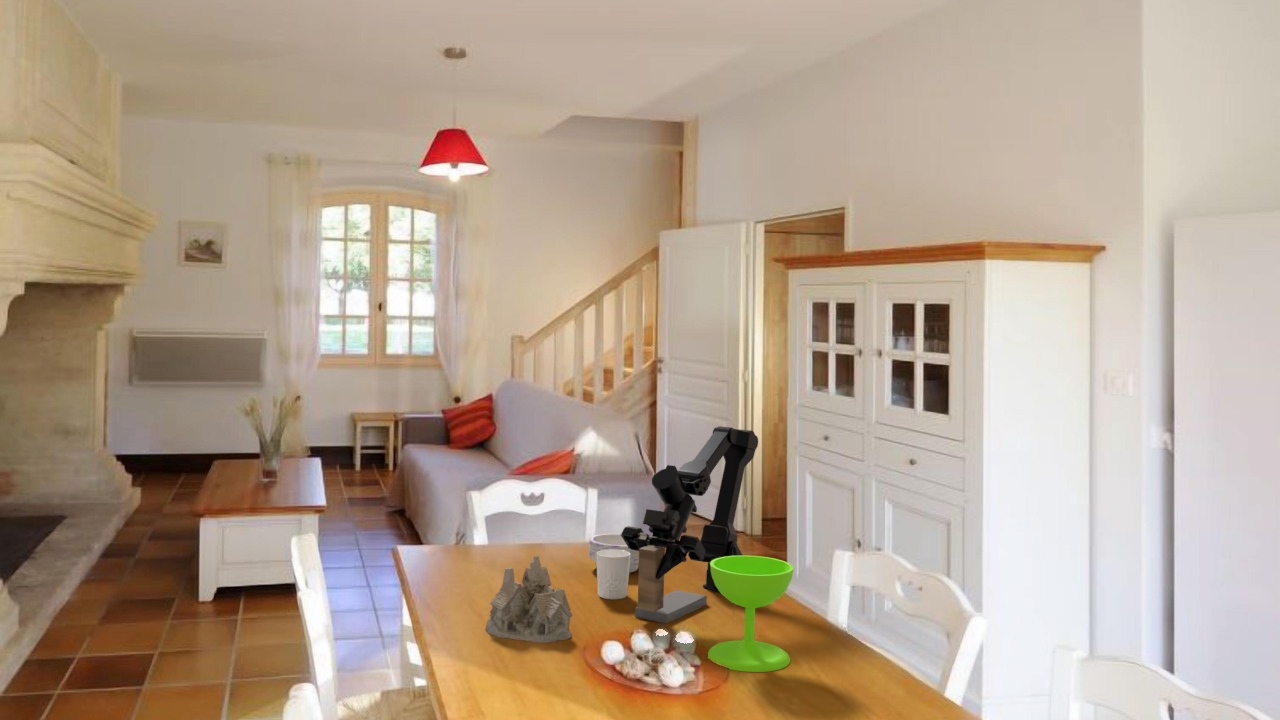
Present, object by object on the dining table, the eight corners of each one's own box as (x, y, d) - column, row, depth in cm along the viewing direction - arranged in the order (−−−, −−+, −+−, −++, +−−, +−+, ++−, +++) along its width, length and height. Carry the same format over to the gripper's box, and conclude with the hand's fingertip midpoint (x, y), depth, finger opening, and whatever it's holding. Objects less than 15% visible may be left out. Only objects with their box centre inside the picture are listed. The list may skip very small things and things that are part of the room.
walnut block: (647, 604, 222) (648, 545, 221) (663, 607, 220) (664, 547, 219) (637, 608, 219) (639, 548, 218) (653, 611, 217) (655, 551, 216)
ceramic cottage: (479, 623, 213) (485, 553, 212) (554, 619, 220) (560, 551, 219) (500, 651, 199) (506, 576, 198) (579, 646, 206) (585, 573, 205)
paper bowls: (658, 568, 265) (659, 538, 265) (626, 580, 252) (627, 548, 252) (609, 559, 273) (610, 530, 273) (576, 570, 261) (577, 539, 260)
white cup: (625, 601, 233) (626, 558, 233) (591, 598, 235) (593, 555, 235) (632, 592, 241) (633, 550, 241) (600, 590, 243) (601, 548, 242)
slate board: (676, 598, 237) (676, 590, 237) (706, 604, 233) (706, 595, 233) (635, 616, 222) (635, 607, 222) (667, 623, 218) (667, 614, 218)
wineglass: (695, 663, 193) (698, 569, 192) (721, 639, 208) (724, 552, 207) (778, 677, 187) (781, 579, 186) (798, 651, 202) (802, 561, 201)
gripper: (626, 489, 226) (597, 548, 218) (700, 499, 217) (673, 561, 208) (644, 519, 233) (616, 577, 225) (716, 530, 224) (691, 591, 215)
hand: (648, 576), depth 218 cm, fingers closed on walnut block, 4 cm apart
